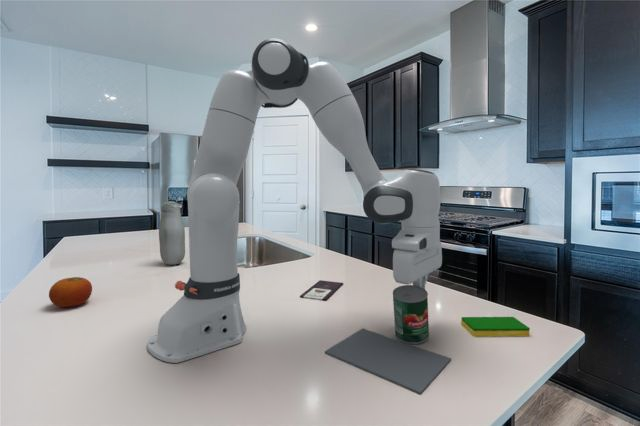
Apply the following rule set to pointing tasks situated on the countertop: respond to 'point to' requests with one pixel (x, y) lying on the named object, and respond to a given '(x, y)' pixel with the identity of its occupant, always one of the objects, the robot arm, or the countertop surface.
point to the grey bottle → (171, 234)
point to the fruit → (70, 292)
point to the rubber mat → (390, 359)
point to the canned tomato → (411, 314)
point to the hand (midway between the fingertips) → (419, 292)
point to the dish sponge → (494, 326)
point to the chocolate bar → (321, 290)
